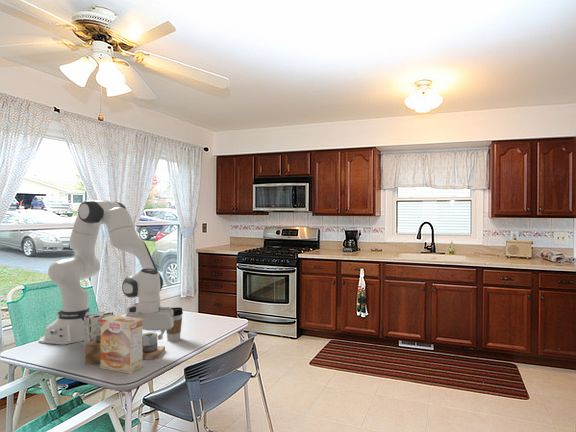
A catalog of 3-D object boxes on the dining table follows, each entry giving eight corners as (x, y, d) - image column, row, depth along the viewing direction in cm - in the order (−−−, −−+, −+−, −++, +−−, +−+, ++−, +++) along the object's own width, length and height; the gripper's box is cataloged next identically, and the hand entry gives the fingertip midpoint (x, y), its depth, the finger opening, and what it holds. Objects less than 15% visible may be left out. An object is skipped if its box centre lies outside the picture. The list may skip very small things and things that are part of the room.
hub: (132, 358, 159) (132, 337, 159) (142, 350, 169) (142, 330, 169) (156, 359, 159) (156, 337, 159) (164, 350, 169) (165, 330, 169)
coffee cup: (177, 343, 179) (177, 311, 179) (161, 341, 180) (161, 310, 180) (185, 337, 187) (185, 306, 187) (170, 336, 189) (170, 305, 189)
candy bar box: (107, 346, 174) (107, 310, 174) (114, 348, 172) (114, 311, 172) (83, 353, 165) (83, 315, 165) (90, 355, 162) (90, 317, 162)
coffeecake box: (99, 368, 149) (99, 318, 149) (113, 362, 156) (113, 314, 156) (129, 374, 144) (129, 322, 144) (143, 367, 150) (143, 318, 150)
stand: (85, 364, 153) (85, 338, 153) (94, 358, 160) (94, 333, 160) (102, 364, 153) (102, 338, 153) (110, 358, 160) (110, 333, 160)
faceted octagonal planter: (144, 340, 167) (144, 332, 167) (158, 340, 167) (158, 332, 167) (138, 345, 161) (138, 337, 161) (153, 345, 161) (153, 337, 160)
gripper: (175, 305, 167) (175, 337, 167) (129, 304, 167) (129, 336, 167) (171, 309, 160) (170, 341, 160) (122, 308, 161) (122, 341, 161)
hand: (149, 339), depth 164 cm, fingers open, 8 cm apart
